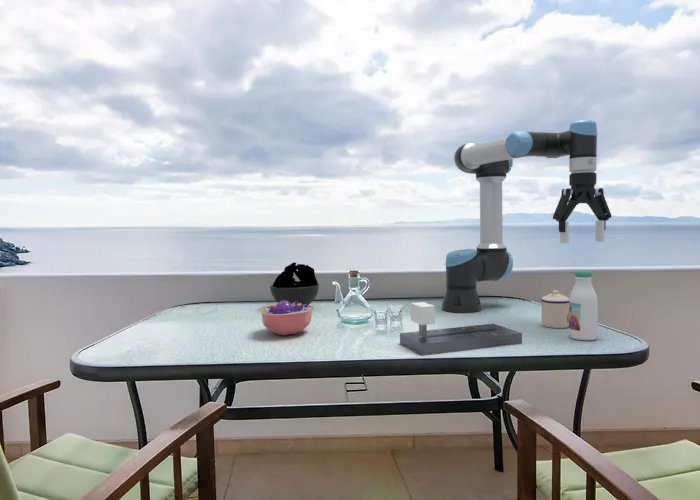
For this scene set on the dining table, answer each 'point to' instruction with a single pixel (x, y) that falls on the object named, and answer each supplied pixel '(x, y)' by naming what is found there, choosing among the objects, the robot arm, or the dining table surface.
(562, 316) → the teacup with lid
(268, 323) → the cell model
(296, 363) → the dining table surface
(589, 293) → the milk bottle
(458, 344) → the fader console
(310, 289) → the coal bowl
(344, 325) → the dining table surface
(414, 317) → the fader knob
